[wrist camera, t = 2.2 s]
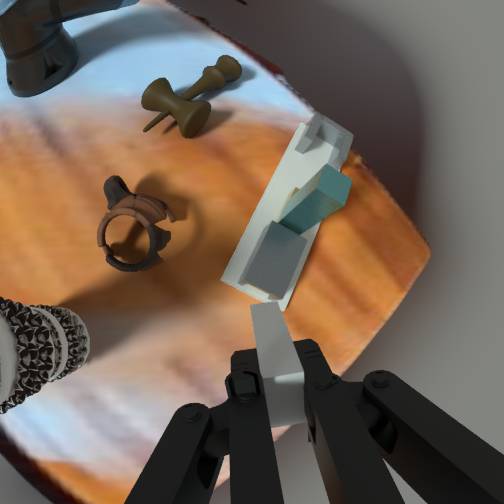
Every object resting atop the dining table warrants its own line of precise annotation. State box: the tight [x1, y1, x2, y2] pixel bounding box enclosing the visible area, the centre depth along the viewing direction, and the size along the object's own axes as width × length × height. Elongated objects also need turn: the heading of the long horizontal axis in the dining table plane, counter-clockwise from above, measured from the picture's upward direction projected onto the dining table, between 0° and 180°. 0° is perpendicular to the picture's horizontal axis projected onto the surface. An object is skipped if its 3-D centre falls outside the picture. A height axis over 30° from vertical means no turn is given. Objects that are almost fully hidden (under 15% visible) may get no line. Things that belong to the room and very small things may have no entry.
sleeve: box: [237, 220, 308, 301], centre depth 36 cm, size 8×5×4 cm, turn 154°
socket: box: [294, 112, 354, 170], centre depth 42 cm, size 6×7×4 cm
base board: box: [220, 122, 342, 311], centre depth 41 cm, size 28×9×1 cm, turn 155°
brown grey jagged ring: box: [97, 175, 175, 272], centre depth 33 cm, size 12×9×8 cm
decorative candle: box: [0, 297, 90, 414], centre depth 18 cm, size 9×9×25 cm
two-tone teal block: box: [249, 163, 353, 293], centre depth 32 cm, size 14×3×13 cm, turn 155°
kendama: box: [141, 55, 242, 138], centre depth 39 cm, size 6×10×20 cm
